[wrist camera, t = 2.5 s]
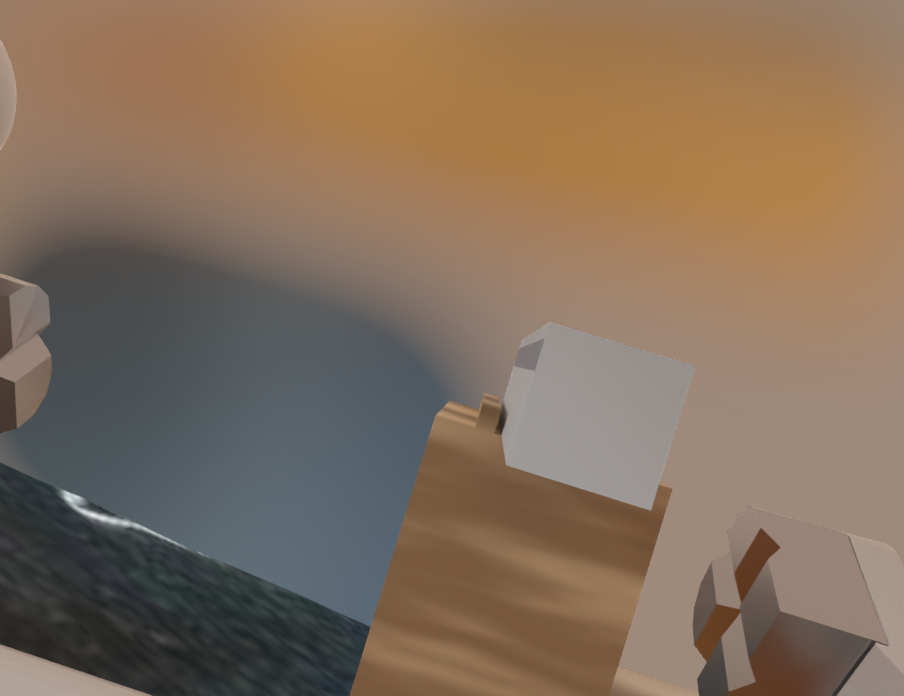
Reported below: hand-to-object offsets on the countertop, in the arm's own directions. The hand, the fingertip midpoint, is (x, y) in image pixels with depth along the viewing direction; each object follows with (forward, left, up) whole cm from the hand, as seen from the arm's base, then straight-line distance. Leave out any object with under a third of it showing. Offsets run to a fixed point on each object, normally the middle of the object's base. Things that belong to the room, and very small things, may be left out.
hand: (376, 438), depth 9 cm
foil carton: (-18, +17, -2) cm, 25 cm away
